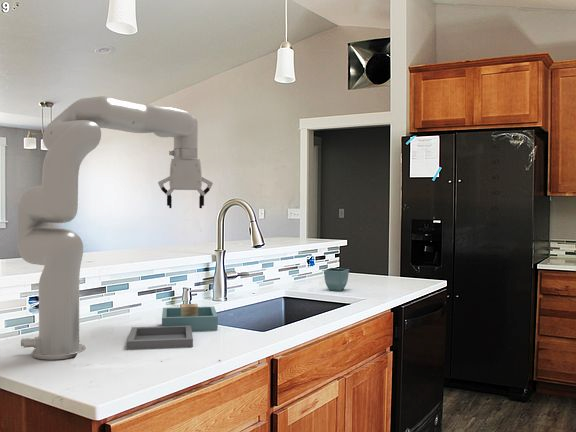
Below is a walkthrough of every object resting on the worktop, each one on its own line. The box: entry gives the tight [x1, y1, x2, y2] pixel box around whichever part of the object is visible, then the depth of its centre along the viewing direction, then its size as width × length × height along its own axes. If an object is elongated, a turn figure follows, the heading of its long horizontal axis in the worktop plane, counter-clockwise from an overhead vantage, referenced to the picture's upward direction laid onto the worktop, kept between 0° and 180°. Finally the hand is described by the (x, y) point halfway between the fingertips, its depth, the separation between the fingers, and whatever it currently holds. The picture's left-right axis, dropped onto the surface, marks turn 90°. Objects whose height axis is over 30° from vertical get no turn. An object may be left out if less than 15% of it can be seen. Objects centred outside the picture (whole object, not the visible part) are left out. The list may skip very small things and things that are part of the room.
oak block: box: [180, 303, 199, 317], centre depth 177 cm, size 5×5×6 cm
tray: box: [161, 306, 219, 332], centre depth 177 cm, size 16×16×5 cm
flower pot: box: [323, 267, 350, 292], centre depth 254 cm, size 9×9×9 cm
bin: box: [126, 325, 194, 351], centre depth 158 cm, size 17×17×3 cm
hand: (185, 208), depth 187 cm, fingers open, 9 cm apart
